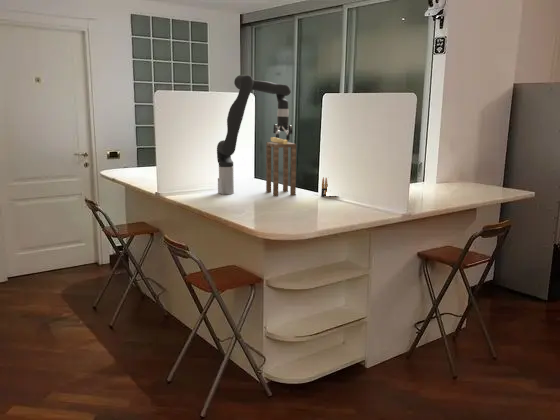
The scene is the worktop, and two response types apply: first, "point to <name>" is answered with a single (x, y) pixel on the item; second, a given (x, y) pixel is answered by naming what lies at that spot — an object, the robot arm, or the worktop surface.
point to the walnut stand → (285, 167)
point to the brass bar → (279, 140)
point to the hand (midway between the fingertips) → (282, 140)
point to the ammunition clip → (323, 187)
